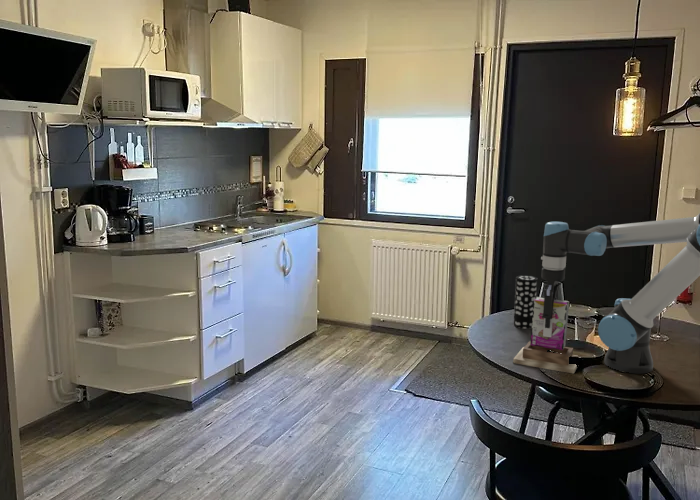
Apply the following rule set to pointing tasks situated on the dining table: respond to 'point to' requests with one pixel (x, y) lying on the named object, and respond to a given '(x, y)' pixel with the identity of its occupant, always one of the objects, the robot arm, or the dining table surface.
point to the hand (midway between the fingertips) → (549, 334)
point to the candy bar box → (557, 326)
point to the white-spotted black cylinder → (524, 301)
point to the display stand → (546, 358)
